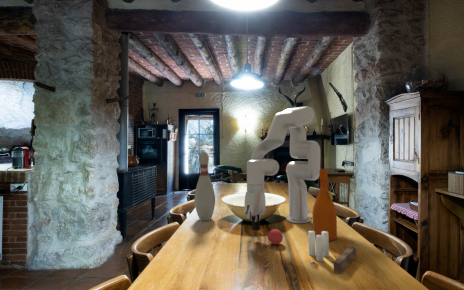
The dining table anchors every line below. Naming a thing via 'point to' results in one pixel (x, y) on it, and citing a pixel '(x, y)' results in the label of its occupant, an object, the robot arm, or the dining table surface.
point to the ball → (275, 236)
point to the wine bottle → (324, 210)
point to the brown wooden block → (344, 259)
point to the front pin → (311, 243)
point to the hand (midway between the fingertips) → (255, 229)
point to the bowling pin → (204, 191)
